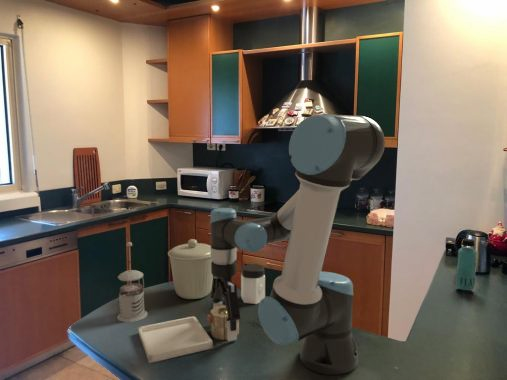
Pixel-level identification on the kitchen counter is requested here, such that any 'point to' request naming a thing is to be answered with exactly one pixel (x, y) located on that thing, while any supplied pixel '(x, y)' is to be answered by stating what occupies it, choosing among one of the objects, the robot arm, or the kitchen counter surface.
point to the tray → (174, 339)
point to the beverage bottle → (466, 266)
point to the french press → (131, 296)
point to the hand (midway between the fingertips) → (224, 330)
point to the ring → (219, 323)
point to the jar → (252, 283)
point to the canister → (191, 269)
